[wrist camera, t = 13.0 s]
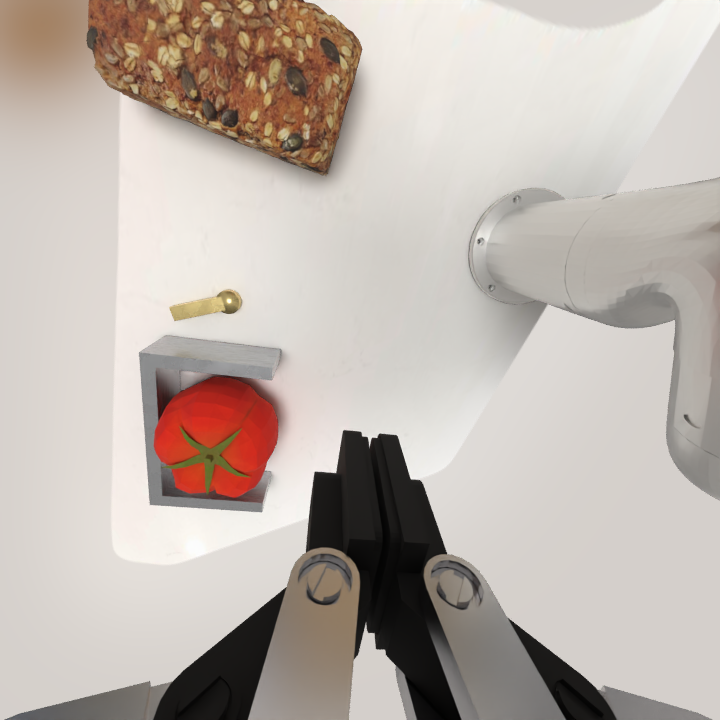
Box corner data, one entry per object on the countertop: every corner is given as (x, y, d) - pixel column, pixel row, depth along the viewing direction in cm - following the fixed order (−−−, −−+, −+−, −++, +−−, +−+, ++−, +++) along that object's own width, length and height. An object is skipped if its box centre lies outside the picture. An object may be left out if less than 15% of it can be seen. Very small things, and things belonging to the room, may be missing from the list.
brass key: (237, 287, 40) (235, 288, 39) (244, 309, 41) (242, 311, 40) (171, 301, 40) (167, 303, 39) (179, 322, 41) (176, 325, 40)
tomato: (158, 392, 44) (107, 439, 34) (251, 349, 42) (226, 386, 33) (217, 470, 48) (188, 532, 39) (302, 434, 47) (294, 489, 38)
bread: (142, 109, 33) (68, 63, 24) (161, -27, 30) (83, -142, 21) (327, 185, 37) (324, 171, 27) (362, 70, 33) (372, 10, 24)
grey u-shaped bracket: (280, 349, 43) (272, 367, 37) (270, 480, 50) (262, 512, 44) (165, 335, 41) (139, 352, 35) (171, 472, 48) (149, 504, 42)
